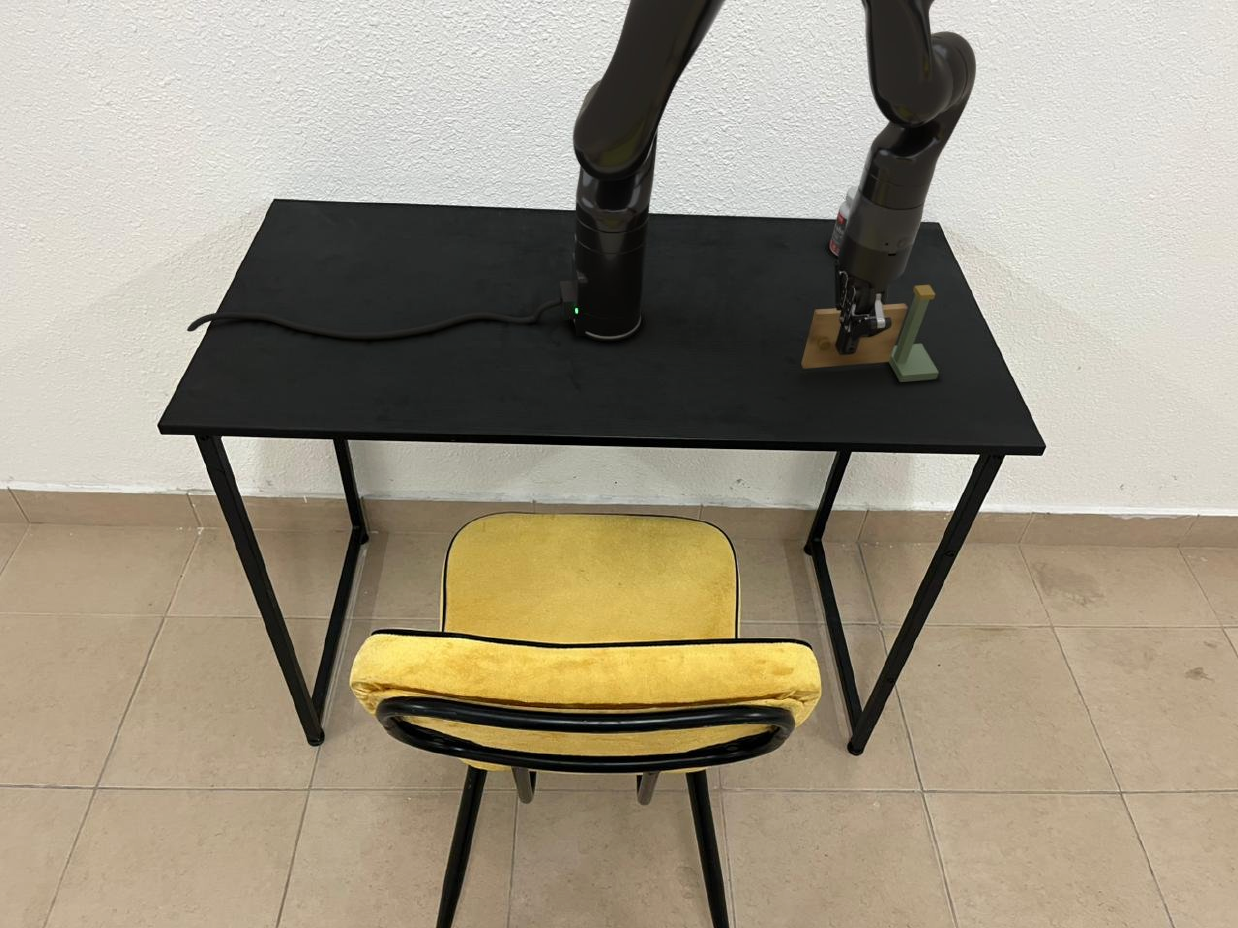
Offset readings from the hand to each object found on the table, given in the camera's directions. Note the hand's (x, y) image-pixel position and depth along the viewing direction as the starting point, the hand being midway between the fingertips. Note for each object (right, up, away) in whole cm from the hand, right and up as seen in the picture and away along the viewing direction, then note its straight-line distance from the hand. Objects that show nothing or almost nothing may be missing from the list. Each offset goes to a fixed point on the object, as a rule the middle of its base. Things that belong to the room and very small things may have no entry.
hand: (844, 351), depth 112 cm
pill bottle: (+8, +19, +30) cm, 37 cm away
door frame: (+12, -1, +12) cm, 17 cm away
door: (+2, -1, +9) cm, 10 cm away
